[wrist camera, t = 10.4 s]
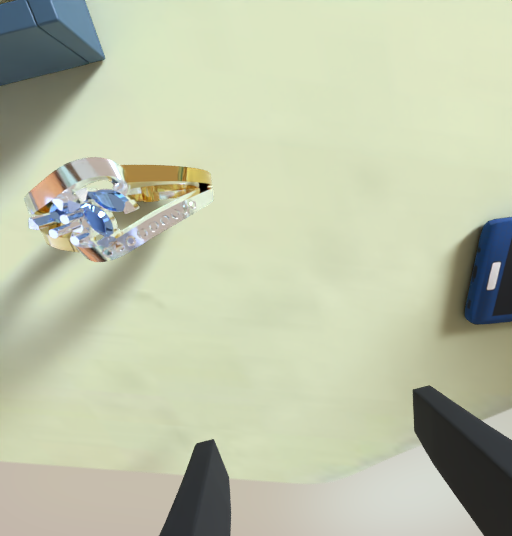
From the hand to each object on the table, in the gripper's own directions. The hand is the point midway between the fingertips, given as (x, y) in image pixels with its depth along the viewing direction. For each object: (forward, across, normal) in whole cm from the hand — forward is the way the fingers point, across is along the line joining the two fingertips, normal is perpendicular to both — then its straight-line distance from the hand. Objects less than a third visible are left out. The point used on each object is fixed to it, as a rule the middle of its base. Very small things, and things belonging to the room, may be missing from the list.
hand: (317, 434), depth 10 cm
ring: (+10, +5, -9) cm, 14 cm away
